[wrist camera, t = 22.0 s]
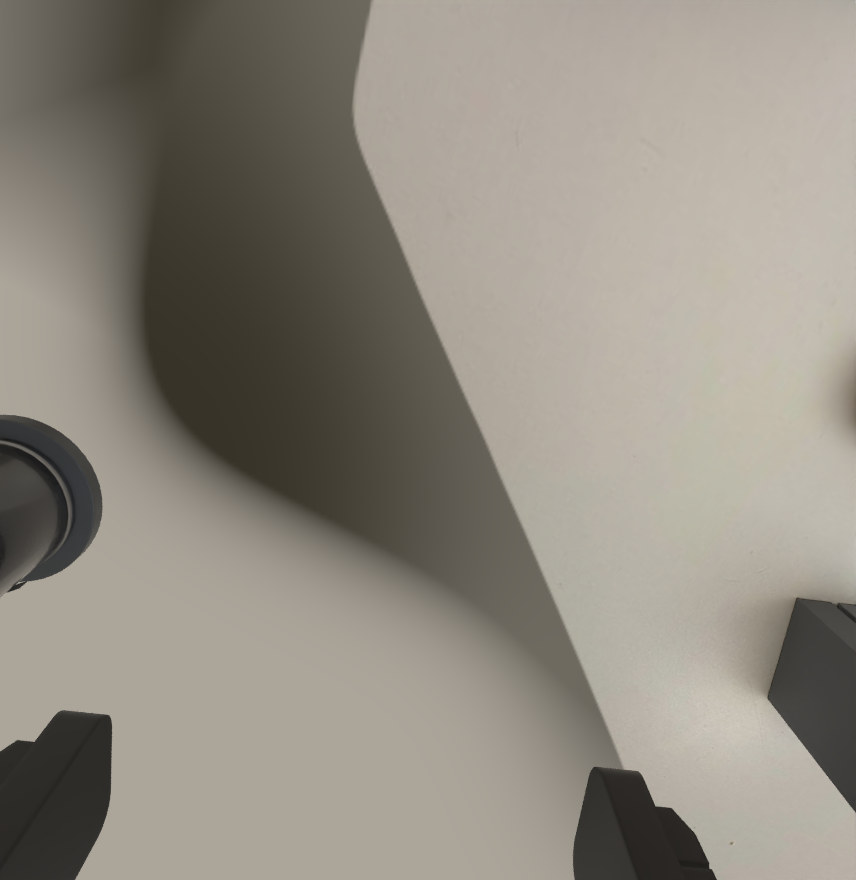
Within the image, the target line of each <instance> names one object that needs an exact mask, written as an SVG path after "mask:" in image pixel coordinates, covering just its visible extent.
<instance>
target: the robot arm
mask: <svg viewBox="0 0 856 880" xmlns="http://www.w3.org/2000/svg"><path fill="white" fill-rule="evenodd" d="M74 521H75V502H74V497H73V493H72V490H71V488H70V485H69V483H68V481H67V479H66V478H65V476H64V474H63V473H62V472H61V470H60V469H59V468H58V467H57V465H56V464H55V463H54V462H53V461H52V460H51V459H49V458H48V457H47V456H46V455H45V454H43V453H42V452H40V451H39V450H37V449H35V448H33V447H32V446H29V445H27V444H25V443H22V442H19V441H15V440H11V439H5V438H0V597H1V596H2V595H4V594H5V593H7V592H10V591H13V590H15V589H19V588H20V587H21V586H23V585H24V584H25V583H26V582H27V581H26V582H23V583H20V584H17V583H18V582H19V581H20V580H22V579H23V578H24V577H25V576H26V575H28V574H29V573H30V572H31V571H32V570H34V569H35V568H36V567H37V566H38V565H39V564H41V563H43V562H45V561H46V560H48V559H49V558H50V557H51V556H53V555H54V554H55V553H56V552H57V551H58V550H60V549H61V547H62V546H63V545H64V544H65V542H66V541H67V540H68V538H69V536H70V534H71V531H72V529H73V525H74ZM16 584H17V585H16ZM111 747H112V722H111V718H110V716H109V715H104V714H94V713H84V712H74V711H65V710H64V711H60V712H58V713H57V714H56V715H55V716H54V717H53V719H52V720H51V721H50V723H49V724H48V725H47V726H46V728H45V729H44V730H43V732H42V733H41V734H40V736H39V737H38V738H37V739H36V741H35V742H29V741H20V740H17V741H15V742H14V743H12V744H11V745H9V746H8V747H6V748H5V749H4V750H2V751H0V880H75V879H76V876H77V875H78V873H79V871H80V869H81V868H82V866H83V864H84V862H85V860H86V858H87V857H88V854H89V853H90V851H91V849H92V847H93V845H94V844H95V842H96V840H97V838H98V836H99V834H100V832H101V830H102V827H103V824H104V821H105V818H106V815H107V811H108V807H109V801H110V794H111V750H112V749H111ZM573 867H574V877H575V880H717V879H716V877H715V875H714V873H713V871H712V869H709V862H708V860H707V858H706V856H705V854H704V851H703V849H702V847H701V845H700V843H699V841H698V839H697V837H696V835H695V833H694V832H693V831H692V830H691V829H690V828H689V827H688V826H687V825H686V824H685V822H684V821H683V820H682V819H681V818H680V817H679V816H678V815H677V814H676V813H675V812H674V810H673V809H672V808H666V807H656V806H655V804H654V802H653V800H652V797H651V795H650V793H649V790H648V788H647V786H646V783H645V781H644V779H643V777H642V775H641V774H640V773H639V772H638V771H631V770H621V769H611V768H602V767H594V768H593V769H592V770H591V772H590V775H589V779H588V783H587V787H586V792H585V796H584V801H583V805H582V810H581V814H580V818H579V823H578V827H577V832H576V836H575V841H574V850H573Z"/></svg>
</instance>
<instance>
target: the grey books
mask: <svg viewBox="0 0 856 880" xmlns="http://www.w3.org/2000/svg"><path fill="white" fill-rule="evenodd" d="M768 700H769V701H770V702H771V704H772V705H773V706H774V708H775V709H776V710H777V711H778V713H779V714H780V715H781V717H782V718H783V719H784V720H785V722H786V723H787V724H788V726H789V727H790V728H791V730H792V731H793V732H794V733H795V735H796V736H797V737H798V739H799V740H800V741H801V742H802V744H803V745H804V746H805V748H806V749H807V750H808V751H809V753H810V754H811V755H812V757H813V758H814V759H815V761H816V762H817V763H818V764H819V766H820V767H821V768H822V770H823V771H824V772H825V773H826V775H827V776H828V777H829V779H830V780H831V781H832V783H833V784H834V785H835V786H836V788H837V789H838V790H839V792H840V793H841V794H842V795H843V797H844V798H845V799H846V801H847V802H848V803H849V805H850V806H851V807H852V808H853V810H854V811H855V812H856V605H849V604H840V603H839V605H838V608H837V607H836V606H835V605H834V604H832V603H830V602H822V601H813V600H805V599H797V600H796V604H795V607H794V610H793V614H792V617H791V621H790V624H789V627H788V631H787V634H786V638H785V641H784V644H783V648H782V651H781V655H780V658H779V661H778V665H777V668H776V672H775V675H774V679H773V682H772V685H771V689H770V692H769V696H768Z"/></svg>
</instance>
